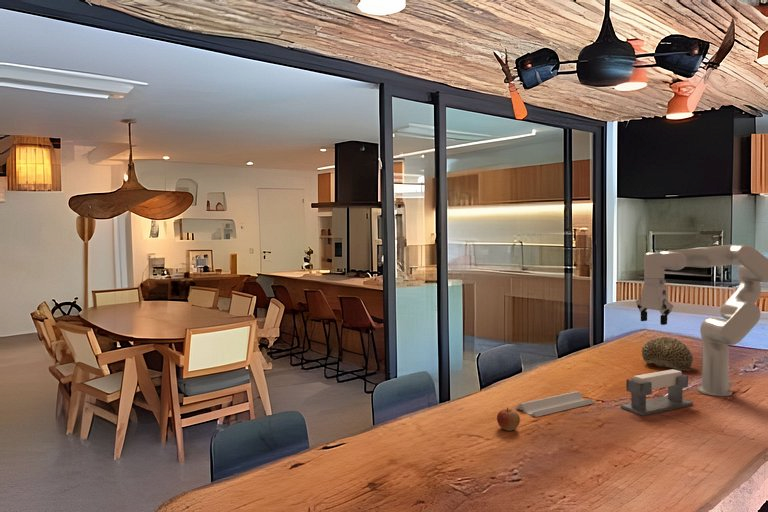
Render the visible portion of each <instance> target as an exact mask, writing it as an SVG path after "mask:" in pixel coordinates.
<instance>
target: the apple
mask: <svg viewBox="0 0 768 512" xmlns="http://www.w3.org/2000/svg"><path fill="white" fill-rule="evenodd" d="M496 421H497V424H498V426H499V427H500V428H501V429H502V430H504V431H507V432H510V431H512V432H513V431H515V430H516V429H517V428H518V426H520V423H521V422H520V421H521V417H520V414H519V413H518V412H517V411H516V409H515V410H514V409H511V408H509V407H506V408H503V409H501V410H499V411H498V412H497V416H496Z"/></svg>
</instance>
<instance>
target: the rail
mask: <svg viewBox="0 0 768 512" xmlns="http://www.w3.org/2000/svg"><path fill="white" fill-rule="evenodd" d="M682 374H683V373H682V370H678V369H675V368H671V369H667V370H661V371H655V372H649V373H642V374H638V375H633V381H635V382H639V383H646V382H652V390H656V389H657V390H658V389H662V388H668V386H674V385H677V377H679V376H682Z"/></svg>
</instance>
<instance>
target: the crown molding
mask: <svg viewBox="0 0 768 512" xmlns="http://www.w3.org/2000/svg"><path fill="white" fill-rule="evenodd" d="M592 404H595V402H594V400H593V398H588V399H585V398H584V397H583V395H582V394H581V392H580V391H579V390H576V391H571V392H567V393H562V394H557V395H553V396H547V397H542V398H540V399H534V400H530V401H525V402H521V403H519V404H518V405H516V406H515V408H514V409H515V410H517V411H518V410H520V411H522V412H523V413H524V414H527V415H529V416H533V417H536V418H538V417H542V416H547V415H551V414H554V413H560V412H564V411H567V410H571V409H576V408H580V407H585V406H588V405H592Z"/></svg>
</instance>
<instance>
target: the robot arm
mask: <svg viewBox="0 0 768 512" xmlns="http://www.w3.org/2000/svg"><path fill="white" fill-rule="evenodd" d="M722 266H738V269H737V275H738V278H739V284H738V287H737V289H736V290H735V291H734V292H733V293H732V295H731V296H729V297H728V299H726V300H725V302H724V303H723V304H722V305H721V307H720V310H719V314H720V316H721V317H722V318H723V319H721V318H719V317H708V318H706V319H704V320H703V321H702V322H701V325H700V329H699V330H700V337H701V342H702V355H701V356H702V358H701V359H702V361H701V362H702V363H701V385H699V386H697V391H698V392H700V393H702V394H704V395H709V396H714V397H730V396H732V395H733V391H732V390H731V389H730V387H733V386H734V385H735V382H734V381H732V380H731V381H730V380H729V363H730V362H729V359H730V358H729V356H730V355H729V354H730V352H729V346H734V345H736V344H738V343H740V342H741V341H742V340H743V339H744V338H745V337H746V336H747V335H748V334H749V333H750V331H752V329H753V328H755V326H756V325H757V324H758V323H759V320H760V319H761V309H760V308H759V306H758V305H757V304H756V303H757V301H758V300H759V299H760V297H761V294H762V289H761V288H762V286H761V283H763V284H767V283H768V257H767V256H765V255H763V254H762V253H761V252H759V251H758V250H757V249H756V248H754V247H753V246H751V245H747V244H722V245H714V246H703V247H693V248H681V249H670V250H663V251H659V252H656V251H655V252H646V253H645V254H644V267H643V268H644V270H643V271H644V274H643V276H644V277H643V278H644V279H643V280H644V282H643V283H644V284H643V285H642V288H641V289H642V290H641V296H640V297H641V298H639V299H636V300H635V303H636V305H637V306H636V307H637V308H638V311H639V312H640V322H647V321H648V311H647V310H655V311H659V312H660V317H659V318H660V321H659V322H660V325H661V326H665V325H666V326H667V325H668V315H670V313H671V312H672V310H673V308H674V304H672V303H670V302H669V295H668V289H667V286H666V285H665V284H666V283H667V280H665V271H666V270H670V271H680V270H682V269H684V268H685V267H687V268H688V267H690V268H691V267H692V268H713V267H722Z"/></svg>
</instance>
